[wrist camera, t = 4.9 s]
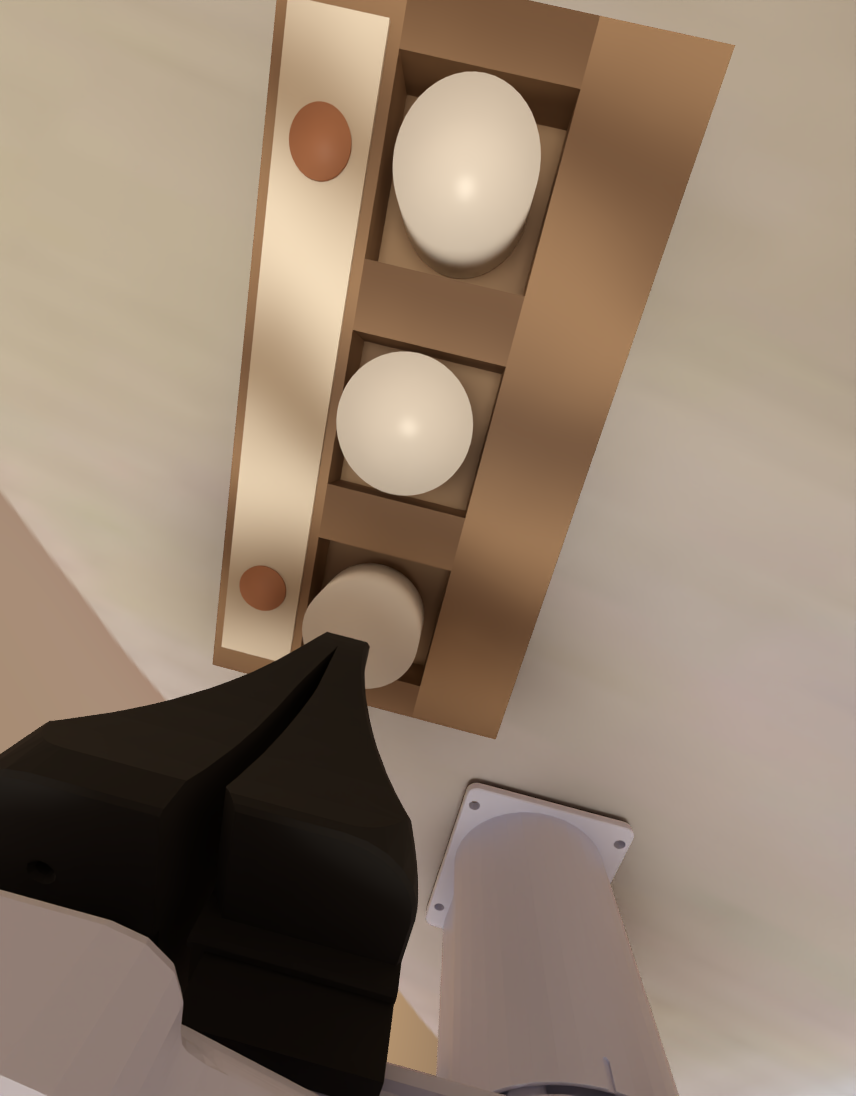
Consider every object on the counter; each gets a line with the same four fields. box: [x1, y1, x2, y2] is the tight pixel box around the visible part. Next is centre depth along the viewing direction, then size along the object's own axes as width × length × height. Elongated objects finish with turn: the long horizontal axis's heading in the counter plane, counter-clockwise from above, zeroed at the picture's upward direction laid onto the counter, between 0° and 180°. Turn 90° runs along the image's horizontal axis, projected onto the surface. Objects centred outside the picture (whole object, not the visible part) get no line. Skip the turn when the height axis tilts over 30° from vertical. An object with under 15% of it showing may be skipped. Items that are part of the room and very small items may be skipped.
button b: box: [302, 563, 424, 689], centre depth 14 cm, size 4×4×2 cm
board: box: [213, 0, 735, 739], centre depth 14 cm, size 22×12×2 cm, turn 167°
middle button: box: [336, 351, 473, 496], centre depth 13 cm, size 4×4×2 cm
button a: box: [393, 71, 541, 278], centre depth 12 cm, size 4×4×2 cm
